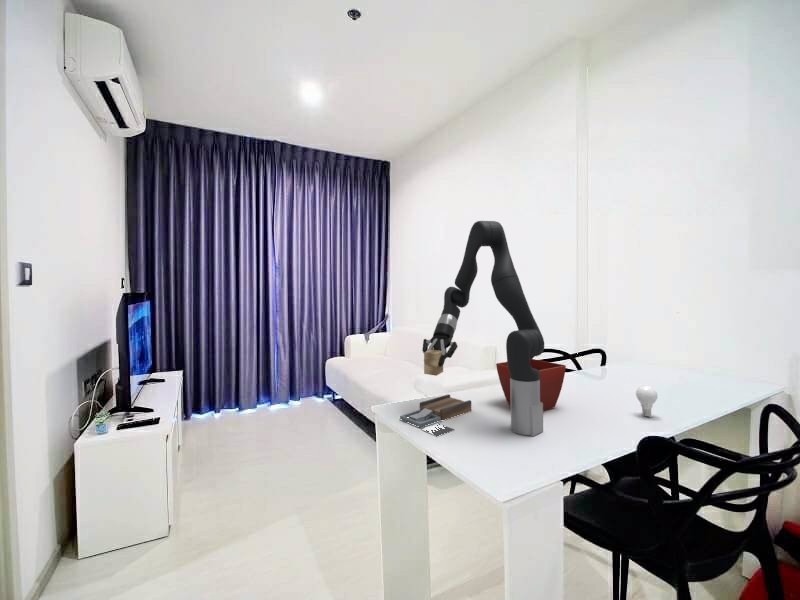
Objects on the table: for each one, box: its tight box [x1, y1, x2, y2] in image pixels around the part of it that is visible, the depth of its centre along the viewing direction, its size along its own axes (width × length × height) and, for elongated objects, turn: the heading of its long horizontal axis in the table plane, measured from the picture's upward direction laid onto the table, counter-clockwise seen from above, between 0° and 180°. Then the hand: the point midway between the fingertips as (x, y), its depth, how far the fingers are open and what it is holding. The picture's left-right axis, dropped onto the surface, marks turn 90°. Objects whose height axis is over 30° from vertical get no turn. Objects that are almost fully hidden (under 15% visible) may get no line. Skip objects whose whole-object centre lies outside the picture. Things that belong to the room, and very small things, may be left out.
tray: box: [399, 409, 441, 428], centre depth 132 cm, size 11×10×2 cm
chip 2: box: [418, 408, 433, 420], centre depth 133 cm, size 4×4×2 cm
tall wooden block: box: [423, 350, 444, 377], centre depth 135 cm, size 5×6×8 cm
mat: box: [426, 422, 455, 437], centre depth 122 cm, size 8×8×1 cm
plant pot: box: [495, 358, 567, 411], centre depth 144 cm, size 19×19×17 cm
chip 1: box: [409, 414, 425, 422], centre depth 131 cm, size 4×4×2 cm
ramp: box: [419, 393, 472, 421], centre depth 140 cm, size 12×16×4 cm
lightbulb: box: [635, 385, 658, 418], centre depth 129 cm, size 6×6×11 cm
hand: (432, 364), depth 135 cm, fingers closed on tall wooden block, 5 cm apart
